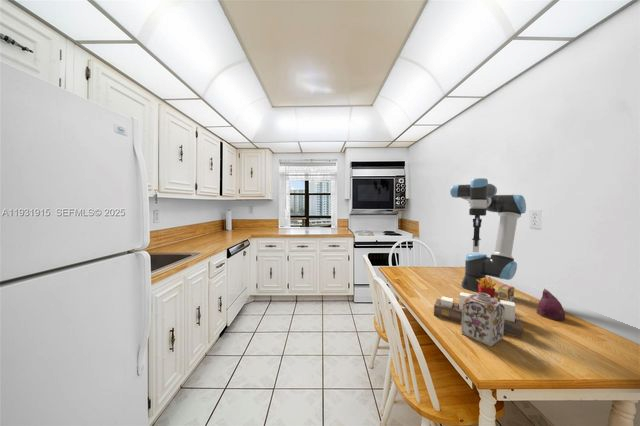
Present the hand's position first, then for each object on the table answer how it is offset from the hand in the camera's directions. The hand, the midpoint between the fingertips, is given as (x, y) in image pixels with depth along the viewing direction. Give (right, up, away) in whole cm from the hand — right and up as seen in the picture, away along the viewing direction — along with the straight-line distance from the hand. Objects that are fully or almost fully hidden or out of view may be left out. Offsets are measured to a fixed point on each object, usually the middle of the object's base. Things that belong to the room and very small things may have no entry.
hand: (475, 252), depth 128 cm
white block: (-12, -26, -11) cm, 31 cm away
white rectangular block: (-19, -29, -7) cm, 36 cm away
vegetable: (+34, -32, -6) cm, 47 cm away
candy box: (+9, -31, -8) cm, 33 cm away
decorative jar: (-15, -32, -26) cm, 44 cm away
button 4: (+1, -26, -20) cm, 33 cm away
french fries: (+10, -31, +8) cm, 33 cm away
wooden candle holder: (-9, -31, -13) cm, 35 cm away
